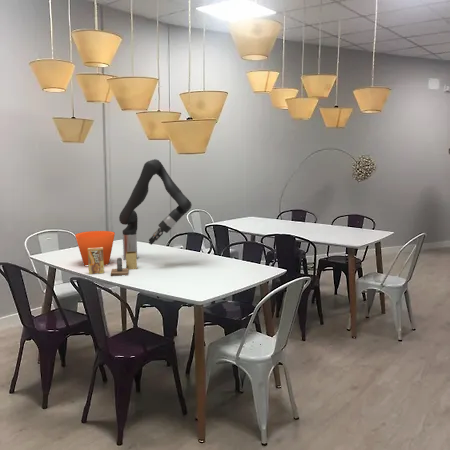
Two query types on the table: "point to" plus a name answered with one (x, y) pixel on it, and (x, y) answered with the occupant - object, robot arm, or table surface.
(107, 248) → the flowerpot
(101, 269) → the candy box
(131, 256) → the sleeve
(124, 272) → the post base
